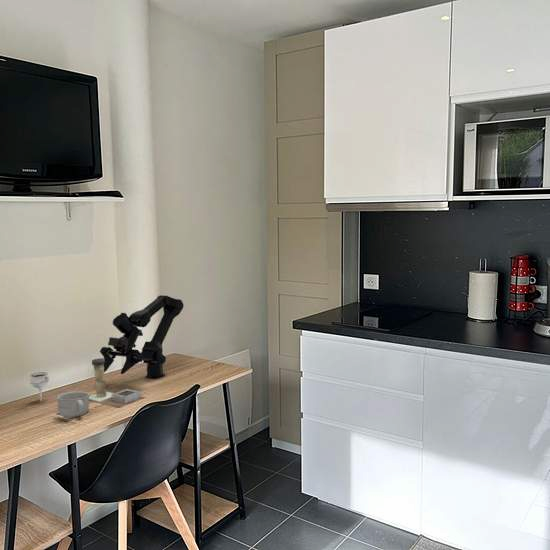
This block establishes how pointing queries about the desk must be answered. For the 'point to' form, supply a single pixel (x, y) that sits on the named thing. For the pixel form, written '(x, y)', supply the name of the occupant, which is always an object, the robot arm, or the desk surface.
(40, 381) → the wineglass
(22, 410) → the desk surface
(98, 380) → the peg
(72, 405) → the teacup
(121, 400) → the collar
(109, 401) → the board
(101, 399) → the coaster
